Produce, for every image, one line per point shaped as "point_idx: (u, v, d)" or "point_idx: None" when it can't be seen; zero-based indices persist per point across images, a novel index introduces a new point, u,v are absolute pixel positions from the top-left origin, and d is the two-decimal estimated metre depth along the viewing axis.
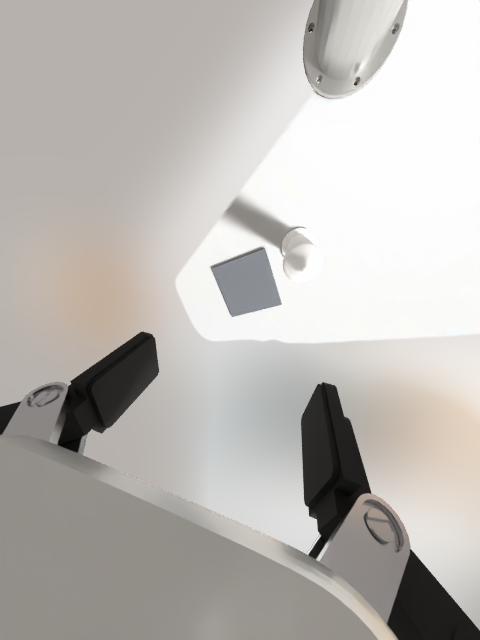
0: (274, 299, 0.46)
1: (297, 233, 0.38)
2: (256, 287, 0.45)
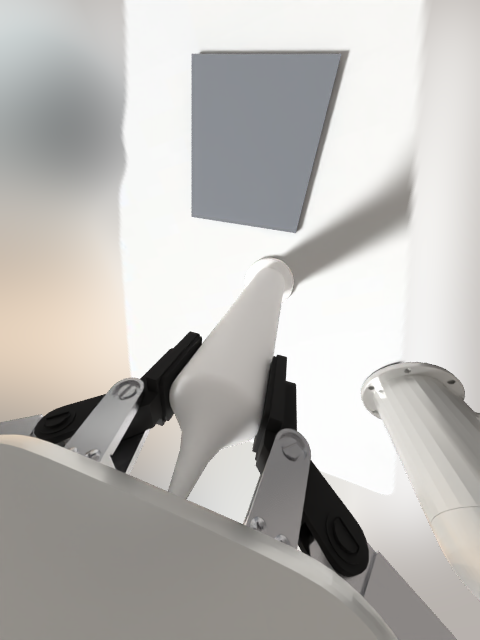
0: (204, 207, 0.24)
1: (284, 290, 0.26)
2: (239, 179, 0.21)
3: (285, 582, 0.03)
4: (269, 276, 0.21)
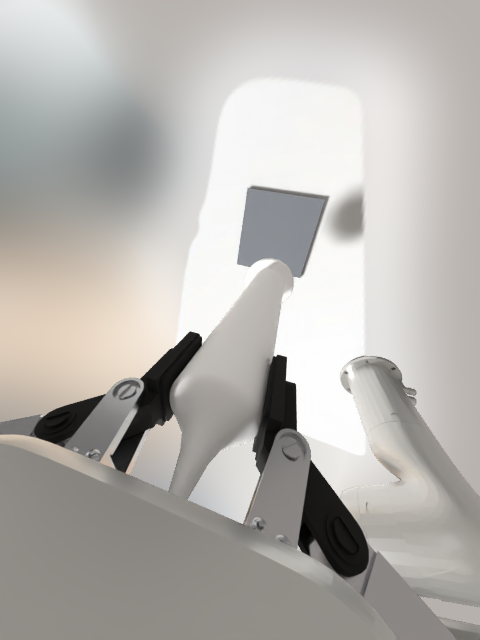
0: (245, 259, 0.40)
1: (284, 290, 0.26)
2: (268, 247, 0.37)
3: (285, 582, 0.03)
4: (269, 276, 0.21)
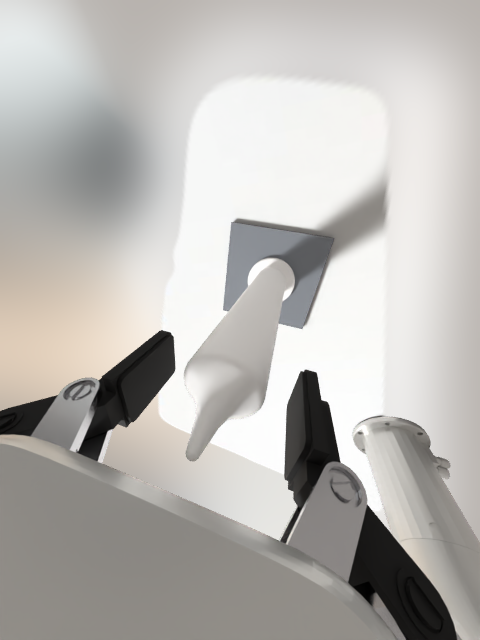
0: None
1: (286, 288, 0.27)
2: None
3: (285, 582, 0.03)
4: (271, 275, 0.23)
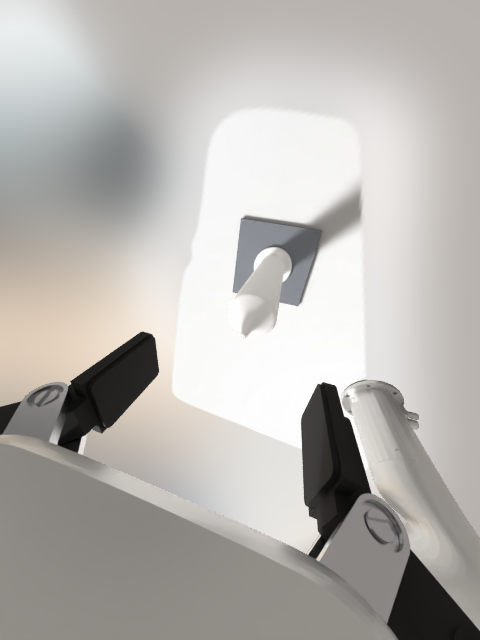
0: None
1: (284, 271, 0.34)
2: None
3: (285, 582, 0.03)
4: (274, 259, 0.29)
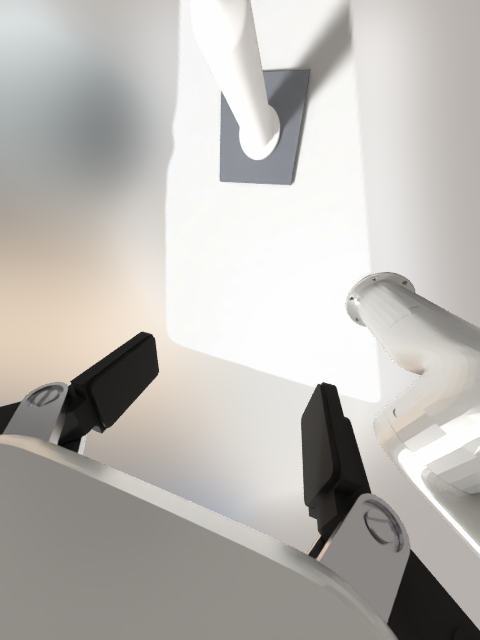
0: (229, 173, 0.36)
1: (273, 135, 0.31)
2: None
3: (285, 582, 0.03)
4: None
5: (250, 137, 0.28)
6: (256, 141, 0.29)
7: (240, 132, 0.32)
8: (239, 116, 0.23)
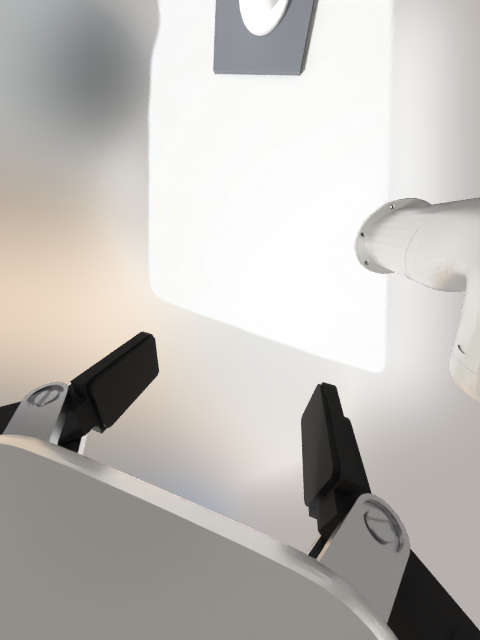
0: (224, 58, 0.29)
1: None
2: None
3: (285, 582, 0.03)
4: None
5: None
6: None
7: None
8: None
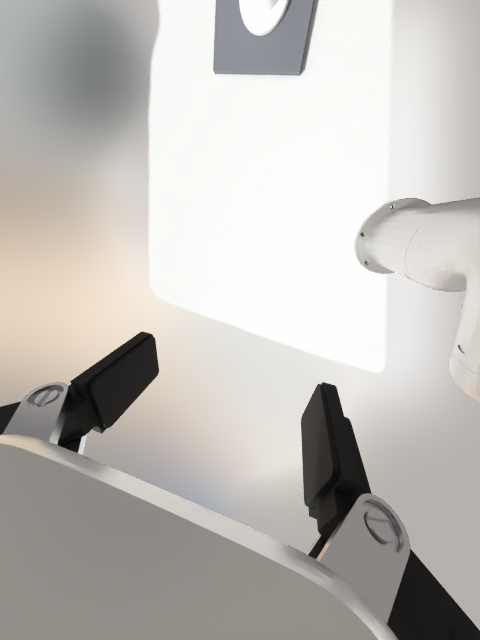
0: (224, 58, 0.29)
1: None
2: None
3: (285, 582, 0.03)
4: None
5: None
6: None
7: None
8: None
